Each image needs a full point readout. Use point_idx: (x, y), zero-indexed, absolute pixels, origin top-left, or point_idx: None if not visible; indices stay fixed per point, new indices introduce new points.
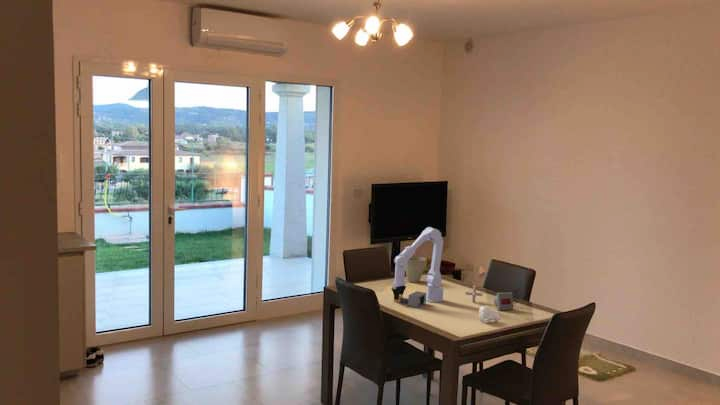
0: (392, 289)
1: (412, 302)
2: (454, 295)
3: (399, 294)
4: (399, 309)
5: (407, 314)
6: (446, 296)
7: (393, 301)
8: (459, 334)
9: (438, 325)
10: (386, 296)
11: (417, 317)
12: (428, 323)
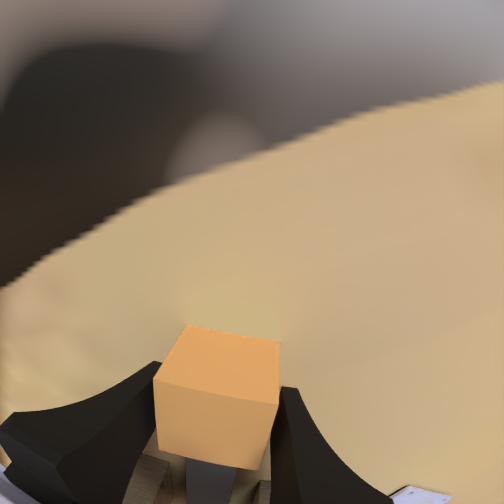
0: (20, 423)
1: None
2: (496, 495)
3: (249, 441)
4: (23, 390)
5: (5, 419)
6: (483, 494)
7: (187, 325)
8: None
9: None
10: (422, 154)
11: None
12: (7, 461)
